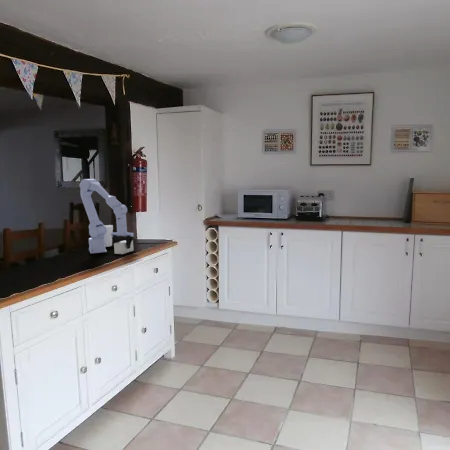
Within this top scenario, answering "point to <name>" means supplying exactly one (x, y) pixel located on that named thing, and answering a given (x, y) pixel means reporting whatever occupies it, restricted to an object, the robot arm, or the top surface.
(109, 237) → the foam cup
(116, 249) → the white rectangular block
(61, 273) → the top surface
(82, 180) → the robot arm
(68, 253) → the top surface
